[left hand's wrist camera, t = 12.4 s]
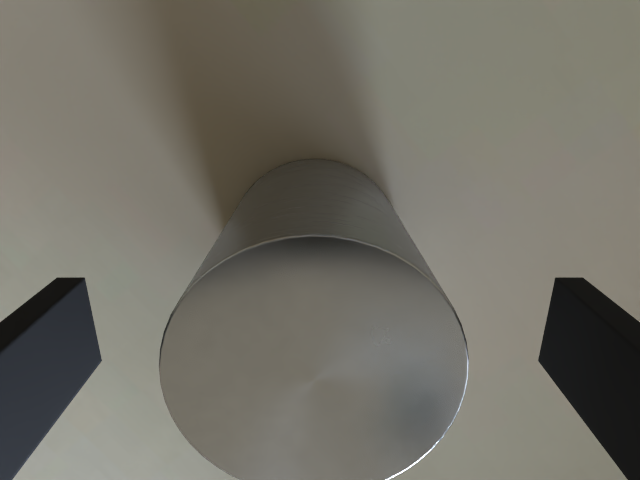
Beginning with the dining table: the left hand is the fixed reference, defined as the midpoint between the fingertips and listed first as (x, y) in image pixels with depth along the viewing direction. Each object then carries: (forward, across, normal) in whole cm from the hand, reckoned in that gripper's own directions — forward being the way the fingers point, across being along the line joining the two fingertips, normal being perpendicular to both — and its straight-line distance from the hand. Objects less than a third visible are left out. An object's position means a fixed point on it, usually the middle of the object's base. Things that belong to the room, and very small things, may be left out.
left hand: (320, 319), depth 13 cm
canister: (+8, 0, -1) cm, 8 cm away
